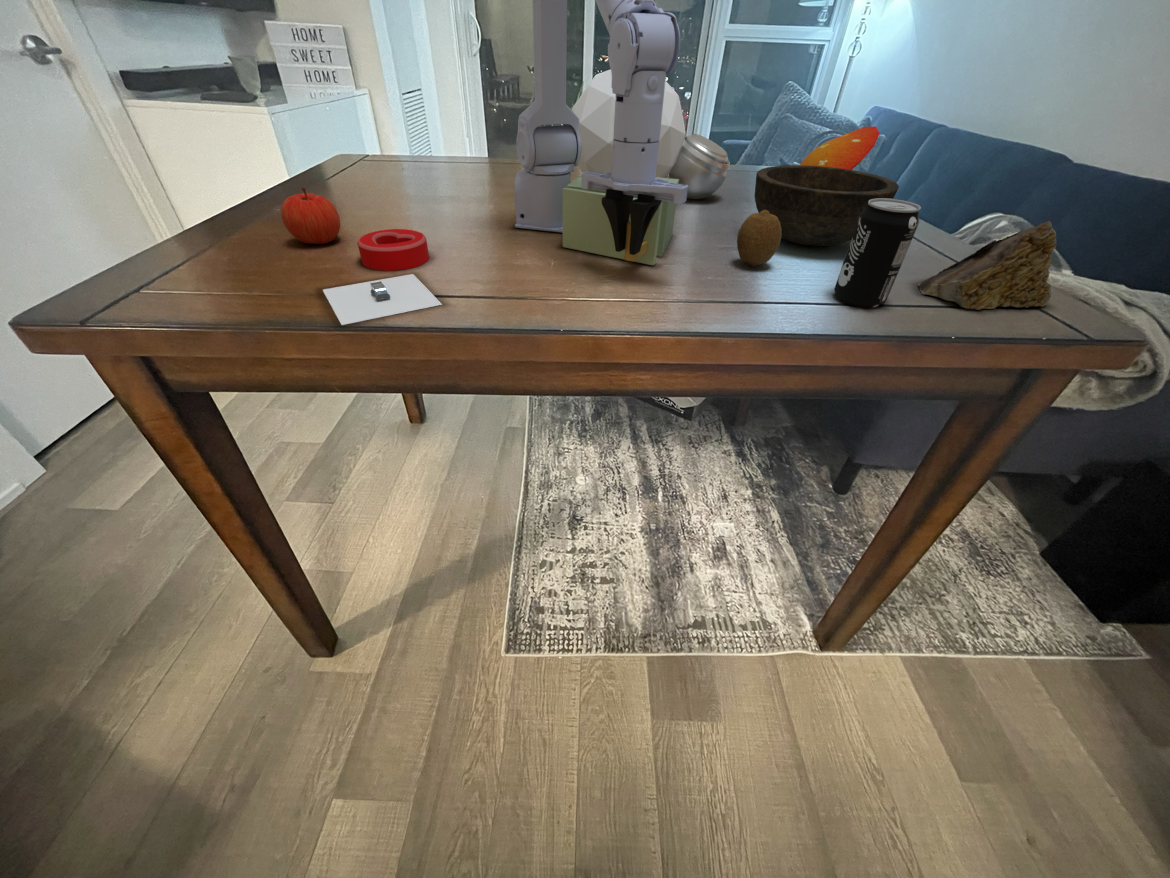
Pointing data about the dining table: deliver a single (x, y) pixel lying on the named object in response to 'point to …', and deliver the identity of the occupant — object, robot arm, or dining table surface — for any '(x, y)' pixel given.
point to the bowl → (818, 200)
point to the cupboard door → (602, 228)
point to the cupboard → (666, 214)
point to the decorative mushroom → (844, 149)
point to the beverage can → (876, 251)
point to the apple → (310, 218)
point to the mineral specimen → (1000, 273)
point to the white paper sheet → (379, 298)
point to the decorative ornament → (393, 249)
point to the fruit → (759, 238)
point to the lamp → (677, 153)
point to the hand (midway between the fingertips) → (627, 251)
